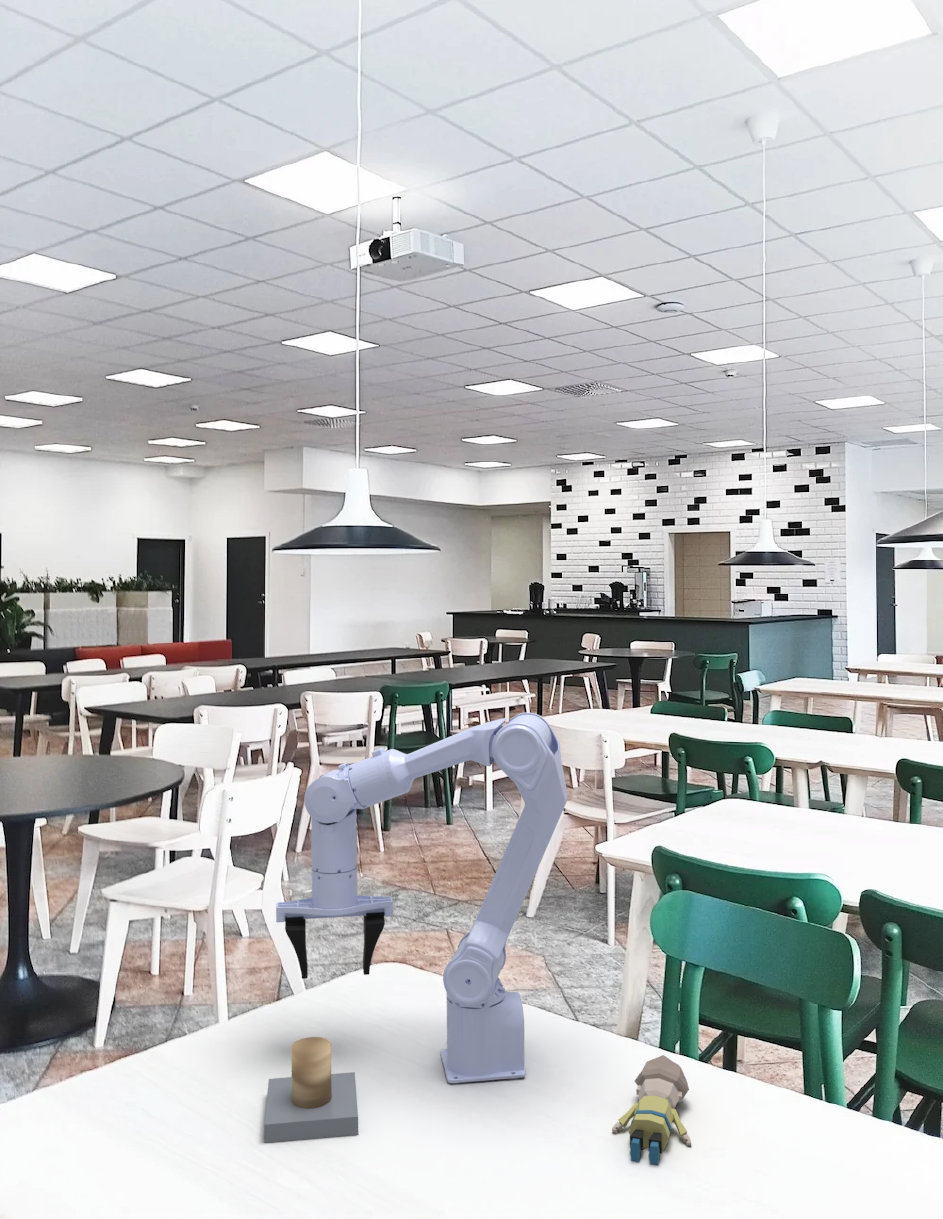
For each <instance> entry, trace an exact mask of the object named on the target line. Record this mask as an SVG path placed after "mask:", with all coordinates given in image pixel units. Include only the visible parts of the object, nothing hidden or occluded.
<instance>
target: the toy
mask: <svg viewBox="0 0 943 1219" xmlns="http://www.w3.org/2000/svg"><path fill="white" fill-rule="evenodd" d="M634 1083H635V1084H636V1086H637V1088H636V1089H635V1090H636V1095H637V1096H638V1098H639V1101H638V1102H635V1103H634V1104H633V1105H632V1106H631V1107H630V1108H629V1109H628V1110H627V1112H625V1113H624V1114H623V1115H622V1116H620V1117H619V1118H618V1120H617V1121H618V1122H616V1123H615V1124H614V1125H613V1126H612V1128H611V1131H612V1133H614V1134H618V1133H621V1131H623V1129H626V1127H627V1125H628V1124H629V1122H630V1121H631V1122H630V1127H629V1130H628V1134H629V1149H630V1150H629V1155H630V1161H631V1162H636V1163H639V1162H640V1157H641V1151H644V1149H648V1160H649V1164H650V1165H652V1166H659V1165H658V1164H659V1160H660V1154H661V1155H662V1154H663V1151H664V1150H665V1149H666V1147H667V1143H668V1142H669V1140H670V1134H671V1131H672V1125H671V1124H672V1122H673V1123H674V1125H675V1127H676V1129H677V1132H678V1134H679V1138H680V1139H681V1138H682V1139H681V1140H682V1142H683V1143H684V1145H686V1146H687V1147H690V1146H692V1141H691V1138H690V1136H689V1134H688V1131H687V1129H686V1128H685V1125H684V1124H683V1123H682V1121H681V1119H680V1116H679V1113H678V1112H677V1109H676V1106H677V1105H678V1103H683V1099H684V1098H685V1096H686V1095H687V1093H688V1092H689V1090H690V1087H689V1085H688V1084H689V1083H688V1081H687V1079H686V1076H685V1073H684V1072H683V1069H682V1067H681V1066H680V1065H679V1064H678V1063H676V1062H675V1061H673V1060H671V1059H670V1058H669V1057H667V1056H666V1055H664V1054H662V1055H660V1056H657V1057H655V1058H653V1059H651V1060H649V1061H648V1060H647V1061H646V1062H645V1064H644V1066H643V1067H642V1070H641V1071H640V1073H639V1074H638V1076H637V1077H636V1078H635V1080H634ZM631 1119H632V1120H631ZM664 1152H665V1151H664Z"/></svg>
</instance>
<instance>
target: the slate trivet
mask: <svg viewBox="0 0 943 1219" xmlns="http://www.w3.org/2000/svg"><path fill="white" fill-rule="evenodd" d="M356 1083H357V1082H356V1072H355V1071H353V1072H340V1073H331V1084H332V1098H331V1100H330V1101H329V1102H328V1103H327V1104H325V1105H323V1106H321V1107H317V1108H301V1107H298V1106H296V1105H294V1104H293V1102H292V1076H289V1077H288V1076H287V1077H274V1078H268V1084H267V1092H266V1094H267V1095H266V1102H265V1103H266V1106H265V1113H264V1114H265V1115H264V1116H265V1117H264V1125H263V1126H264V1143H267V1144H269V1143H277V1142H278V1143H279V1142H291V1141H301V1140H302V1141H303V1140H314V1139H324V1138H335V1137H336V1138H337V1137H347V1136H358V1135H359V1111H358V1108H359V1107H358V1098H357V1085H356Z"/></svg>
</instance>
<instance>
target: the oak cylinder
mask: <svg viewBox="0 0 943 1219" xmlns="http://www.w3.org/2000/svg"><path fill="white" fill-rule="evenodd" d="M290 1047H291V1077H292V1102H293V1104H294V1105H296V1106H298V1107H301V1108H317V1107H321V1106H323V1105H325V1104H327V1103H328V1102H329V1101H330V1100H331V1098H332V1084H331V1074H332V1043H331V1041H330V1040H329V1039H327V1038H324V1037H320V1036H310V1037H303V1038H301V1039H298V1040H296V1041H294V1042H293V1043H292V1045H291V1046H290Z"/></svg>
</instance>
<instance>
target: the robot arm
mask: <svg viewBox="0 0 943 1219" xmlns="http://www.w3.org/2000/svg"><path fill="white" fill-rule="evenodd" d="M507 719H508V717H504V718H500V719H499V718H497V719H495V720H492V721H488V722H485V723H482V724H479V725H478V724H477V725H475V726H472V727H469V728H468V729H464V730H463V731H460V732H457V733H455V734H453V735H451V736H448V737H446V738H443V739H441V740H439V741H436V742H434V743H431V744H429V745H427V746H424V747H422V748H419V749H417V750H414V751H412V752H410V753H404V752H402V751H399V750H398V749H394V748H390V749H388V750H385V748H384V747H383V746H382V747H380V748H377V749H375V750H373V751H372V752H371V755H372V756H370V757H367V758H365V759H362V760H359V761H356V762H355V763H352V764H349V763H348V762H344V763H341V764H338V767H337V768H338V769H332V770H330V771H329V772H326V773H325V774H323V775H322V776H319V777H318V778H317V779H315V780H313V781H312V782H311V783H310V785H308V787H307V789H306V790H305V793H304V800H303V801H304V807H305V810H306V812H307V814H309V816H310V817H311V818H310V819H311V821H310V822H311V827H310V828H311V832H310V844H311V846H310V847H311V849H310V850H311V851H310V854H311V856H310V857H311V858H310V859H311V860H310V861H311V897H309V898H303V899H297V900H296V899H295V900H289V901H280V902H276V906H275V917H276V918H275V920H276V921H275V923H285V924H284V931H285V932H286V935H287V937H288V939H289V941H290V943H291V945H292V947H293V949H294V951H295V954H296V957H297V960H298V963H299V967H300V973H301V974H300V975H301V979H304V980H305V979H308V976H309V975H308V974H309V972H308V970H309V969H308V968H309V966H308V953H307V936H306V935H307V931H306V928H307V927H306V926H307V924H306V923H307V922H306V920H314V919H332V918H348V917H349V918H350V917H363V955H362V971H363V975H364V976H367V975H370V969H371V963H372V958H373V955H374V951H375V948H376V946H377V943H378V940H379V938H380V936H381V934H382V932H383V931H384V927H385V924H386V923H385V922H386V921H385V920H386V919H385V917H393V916H394V900H393V897H392V896H390V895H389V896H374V895H373V896H372V895H358V830H357V810H364V809H367V808H369V807H372V806H376V805H378V804H381V803H383V802H386V801H388V800H391V799H394V798H396V797H399V796H401V795H404V794H407V793H409V791H410V790H411V788H412V786H413V783H414V781H415V779H417V778H420V777H424V776H426V775H429V774H432V773H435V772H439V771H441V770H445V769H447V768H451V767H453V766H455V765H460V764H463V763H466V762H468V761H472V762H475V763H478V764H481V765H483V766H485V767H486V766H487V767H491V766H492V765H493V764H494V763H495V764H496V765H497V766H498V767H499V769H500V770H501V771H502V773H504V774H505V775H506V776H507V777H508V778H509V779H510V780H511V781H512V782H513V783H514V784H515V786H516V788H517V790H518V792H519V794H520V796H521V798H522V800H523V804H524V806H523V809H522V812H521V813H520V816H519V818H518V821H517V823H516V825H515V828H514V830H513V833H512V834H511V837H510V838H509V841H508V844H507V846H506V848H505V851H504V853H503V855H502V858H501V860H500V862H499V865H498V867H497V869H496V871H495V874H494V877H493V879H492V881H491V883H490V886H489V888H488V891H487V892H486V895H485V897H484V899H483V902H482V903H481V906H480V909H479V912H478V914H477V916H476V918H475V920H474V922H473V924H472V927H471V929H470V931H469V932H467V933H466V934H464V935H463V936H462V938H461V939H460V941H459V943H458V945H457V949H456V951H455V952H454V954H453V956H452V958H451V959H450V961H448V963H447V964H446V966H445V968H444V972H443V976H442V983H443V986H444V987H443V988H444V989H445V992H446V1048H444V1049H441V1050H440V1056H441V1060H442V1065H443V1068H444V1074H445V1076H446V1080H447V1082H448V1083H449V1084H458V1083H459V1084H460V1083H472V1082H484V1081H495V1080H496V1081H497V1080H508V1079H520V1078H525V1077H526V1076H527V1074H526V1073H527V1072H526V1069H525V1014H524V1006H523V1001H522V997H521V995H520V992H518V991H508V990H507V991H506V990H505V988H504V985H503V983H502V981H501V979H500V978H499V976H500V973H501V971H502V970H503V969H504V967H505V965H506V960H507V950H506V948H507V947H506V945H507V940H508V939H509V936H510V934H511V932H512V928H513V927H514V924H515V922H516V920H517V917H518V915H519V913H520V910H521V908H522V905H523V904H524V901H525V898H526V897H527V894H528V892H529V889H530V887H531V885H532V882H533V880H534V878H535V875H536V873H537V871H538V869H539V867H540V864H541V862H542V860H543V857H544V855H545V852H546V851H547V849H548V846H549V843H550V841H551V839H552V836H553V835H554V832H555V830H556V827H557V825H558V823H559V820H560V818H561V815H562V813H563V811H564V810H565V809H564V808H565V806H566V804H567V800H568V798H569V797H568V790H567V785H566V778H565V773H564V772H565V771H564V767H563V761H562V756H561V755H562V754H561V743H560V741H559V739H558V737H557V735H556V734H555V731H553V729H552V727H551V725H550V724H549V722H548V721H547V720H546V719H545V718H544V717H543V716H541V715H540V714H537V713H534V712H521V713H518V714H515V715H514V716H513V717H511V718H510V719H509V720H508V722H507V723H506V724H505V725H503V724H504V722H506V720H507Z"/></svg>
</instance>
